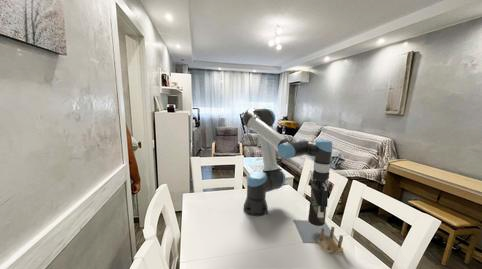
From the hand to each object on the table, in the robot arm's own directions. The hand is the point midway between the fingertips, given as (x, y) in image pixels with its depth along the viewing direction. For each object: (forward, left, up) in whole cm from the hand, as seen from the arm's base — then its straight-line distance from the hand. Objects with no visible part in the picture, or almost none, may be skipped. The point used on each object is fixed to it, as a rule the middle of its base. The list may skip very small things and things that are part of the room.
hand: (317, 212), depth 101 cm
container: (0, 0, -5) cm, 5 cm away
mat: (0, 0, -11) cm, 11 cm away
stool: (+3, -11, -11) cm, 16 cm away
